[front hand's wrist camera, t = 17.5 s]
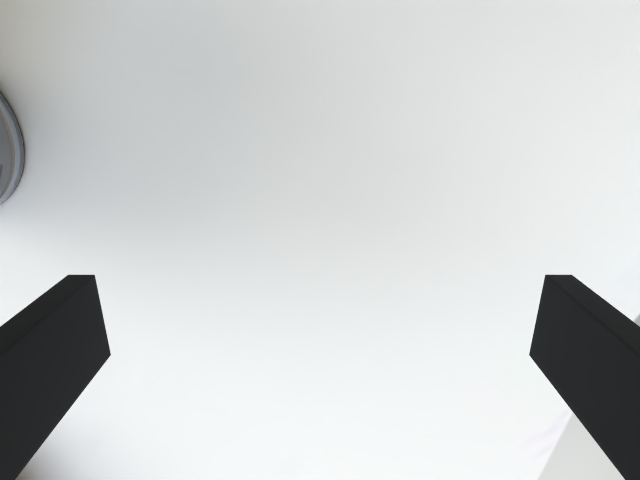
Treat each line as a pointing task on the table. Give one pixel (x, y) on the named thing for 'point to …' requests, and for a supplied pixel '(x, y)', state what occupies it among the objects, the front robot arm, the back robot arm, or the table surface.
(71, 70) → the table surface
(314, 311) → the table surface
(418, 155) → the table surface
